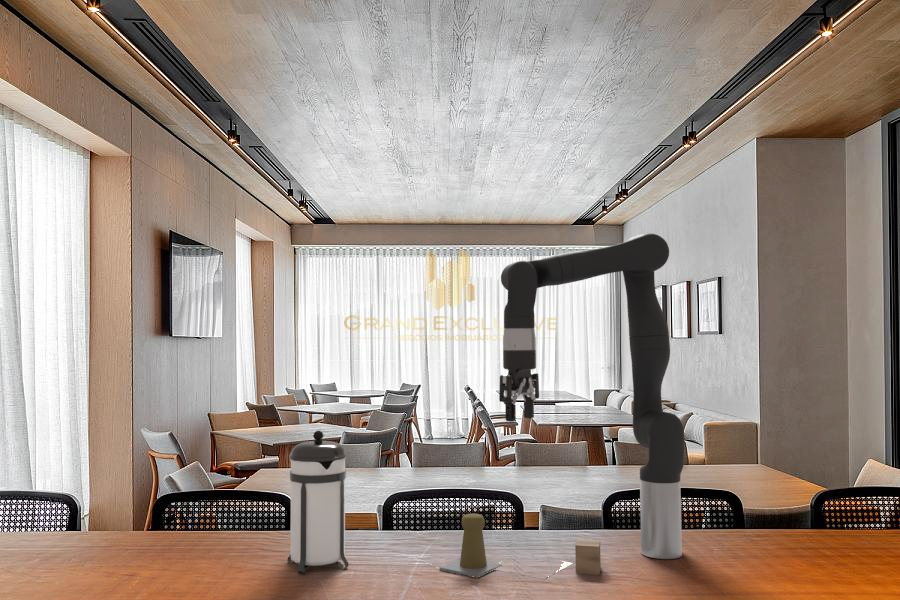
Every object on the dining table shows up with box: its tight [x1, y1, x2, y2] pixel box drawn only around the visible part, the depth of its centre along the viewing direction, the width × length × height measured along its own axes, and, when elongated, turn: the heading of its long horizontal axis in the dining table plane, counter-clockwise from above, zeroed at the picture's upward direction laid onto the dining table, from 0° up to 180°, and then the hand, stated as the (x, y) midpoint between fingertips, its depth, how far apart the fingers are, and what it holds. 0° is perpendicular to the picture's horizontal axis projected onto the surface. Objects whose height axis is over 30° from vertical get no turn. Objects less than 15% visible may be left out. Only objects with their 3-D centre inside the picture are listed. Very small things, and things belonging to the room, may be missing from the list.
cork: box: [459, 513, 487, 569], centre depth 169 cm, size 6×6×11 cm
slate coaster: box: [439, 557, 502, 578], centre depth 168 cm, size 10×10×1 cm
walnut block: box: [574, 538, 601, 576], centre depth 167 cm, size 5×5×6 cm
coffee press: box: [287, 430, 350, 576], centre depth 173 cm, size 17×16×30 cm
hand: (520, 419), depth 174 cm, fingers open, 8 cm apart
